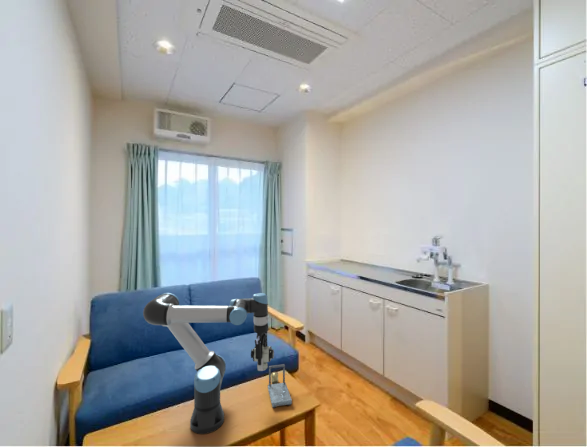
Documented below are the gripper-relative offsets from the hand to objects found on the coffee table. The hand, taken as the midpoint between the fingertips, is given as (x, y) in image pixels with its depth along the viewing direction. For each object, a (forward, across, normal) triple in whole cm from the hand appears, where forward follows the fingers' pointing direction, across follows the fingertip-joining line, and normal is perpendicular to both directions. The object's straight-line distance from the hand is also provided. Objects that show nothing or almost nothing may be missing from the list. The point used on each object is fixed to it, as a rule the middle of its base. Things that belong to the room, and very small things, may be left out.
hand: (262, 367), depth 144 cm
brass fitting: (+17, +18, -1) cm, 25 cm away
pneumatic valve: (+1, -1, 0) cm, 1 cm away
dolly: (+17, +4, -8) cm, 20 cm away
